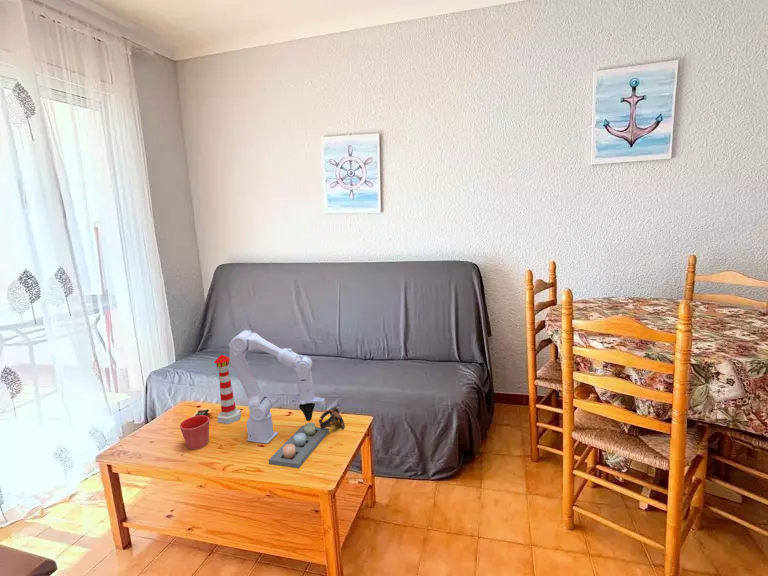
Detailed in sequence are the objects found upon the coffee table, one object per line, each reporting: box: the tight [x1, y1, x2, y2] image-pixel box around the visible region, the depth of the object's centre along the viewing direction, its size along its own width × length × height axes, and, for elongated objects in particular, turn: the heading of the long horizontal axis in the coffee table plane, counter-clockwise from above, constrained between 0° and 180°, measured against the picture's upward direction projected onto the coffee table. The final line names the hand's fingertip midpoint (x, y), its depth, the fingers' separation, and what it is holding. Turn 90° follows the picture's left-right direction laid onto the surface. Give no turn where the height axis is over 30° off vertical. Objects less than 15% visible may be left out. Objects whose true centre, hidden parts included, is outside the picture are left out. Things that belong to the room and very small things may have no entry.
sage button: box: [303, 422, 316, 436], centre depth 166 cm, size 4×4×3 cm
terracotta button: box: [283, 444, 296, 459], centre depth 151 cm, size 4×4×3 cm
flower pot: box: [179, 414, 210, 450], centre depth 164 cm, size 11×11×10 cm
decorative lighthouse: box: [213, 354, 242, 425], centre depth 182 cm, size 10×9×30 cm
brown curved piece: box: [318, 407, 345, 430], centre depth 173 cm, size 12×10×8 cm
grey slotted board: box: [268, 425, 330, 469], centre depth 158 cm, size 12×25×2 cm, turn 163°
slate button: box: [294, 433, 307, 447], centre depth 158 cm, size 4×4×3 cm
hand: (309, 419), depth 165 cm, fingers closed
